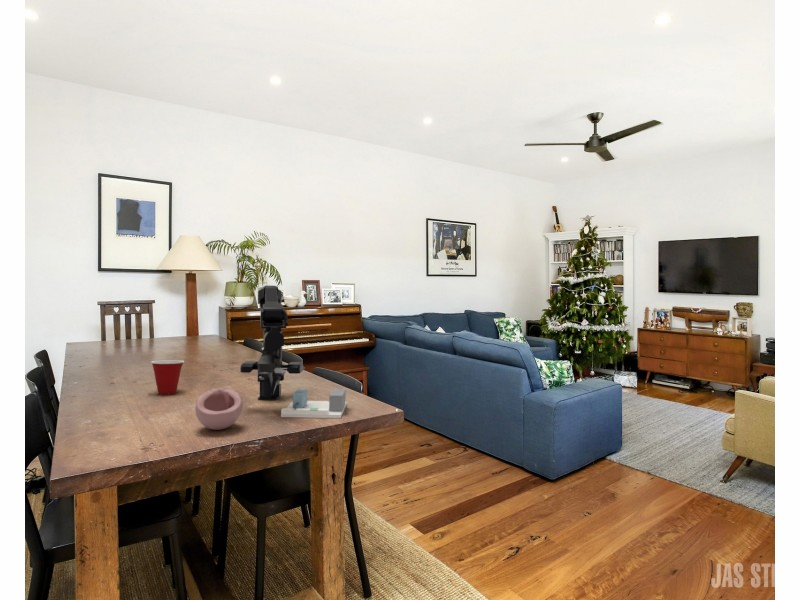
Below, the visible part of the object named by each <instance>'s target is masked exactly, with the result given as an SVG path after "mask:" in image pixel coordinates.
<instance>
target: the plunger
mask: <svg viewBox="0 0 800 600" xmlns="http://www.w3.org/2000/svg"><path fill="white" fill-rule="evenodd" d="M292 401H293V408H296V407H297V408H303V407H304V406H305V405H306V404H307V401H308V388H297V389H296V391H294V392H293V393H292Z"/></svg>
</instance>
